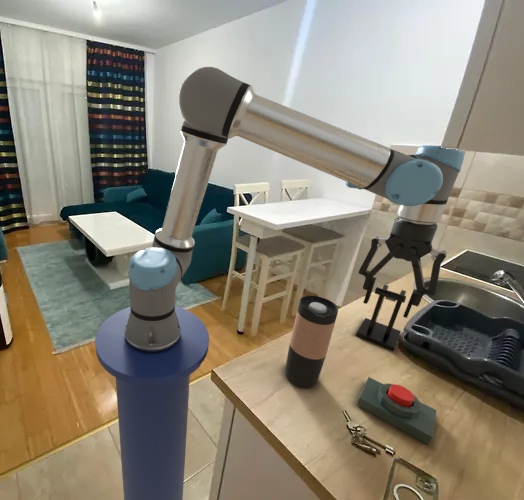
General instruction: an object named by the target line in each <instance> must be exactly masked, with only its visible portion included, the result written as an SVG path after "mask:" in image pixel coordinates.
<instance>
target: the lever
mask: <svg viewBox="0 0 524 500" xmlns="http://www.w3.org/2000/svg"><path fill="white" fill-rule="evenodd" d="M382 288H383V287H378V286H376V287H375V289H374V294H375V295H378V296H379V295H381V296H384V297H385V298H384V300H387V301H391V302H394V303H396V302H397V301H400V302H402V303H403V304H405V302H406V300H405V298H406V299H407V296H406V295H405V296H404V295H401V294H400V293H398V292H395V291H392V290H388V289H387V290H385V289H382ZM404 301H405V302H404Z"/></svg>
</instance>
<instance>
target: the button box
mask: <svg viewBox="0 0 524 500" xmlns="http://www.w3.org/2000/svg"><path fill="white" fill-rule="evenodd" d="M391 385H395V384H394V383H382V382H380V381H378V380H375V379H374V378H372V377H370V376H368V377H367V379H366V382H365V384H364V386H363V388H362V391H361V393H360V395H359V398H358V400H357V403H356V406H357V407H360V408H361V409H363V410H365V411H366V412H369V413H370V414H372V415H374V416H375V417H377V418H378V419H381V420H383V421H385V422H386V423H388V424H390V425H392V426H393V427H395V428H397V429H399V430H401V431H403V432H404V433H406V434H408V435H409V436H411V437H413V438H415V439H417V440H419V441H421V442H422V443H424V444H425V445H430V443H431V442H432V440H433V437H434V431H435V425H436V424H435V422H436V415H437V409H435V408H433V407H431V406H429V405H427V404H426V403H423V402H421V401H420V400H419V399H418V397H417V396H416V395H414V401H413V403H412V405H411V406H410V407H404V406H401V405H399V404H397V403H395V402H393V401H392V400H391V399H390V398H389V396H388V391H389V389H390V386H391Z"/></svg>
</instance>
